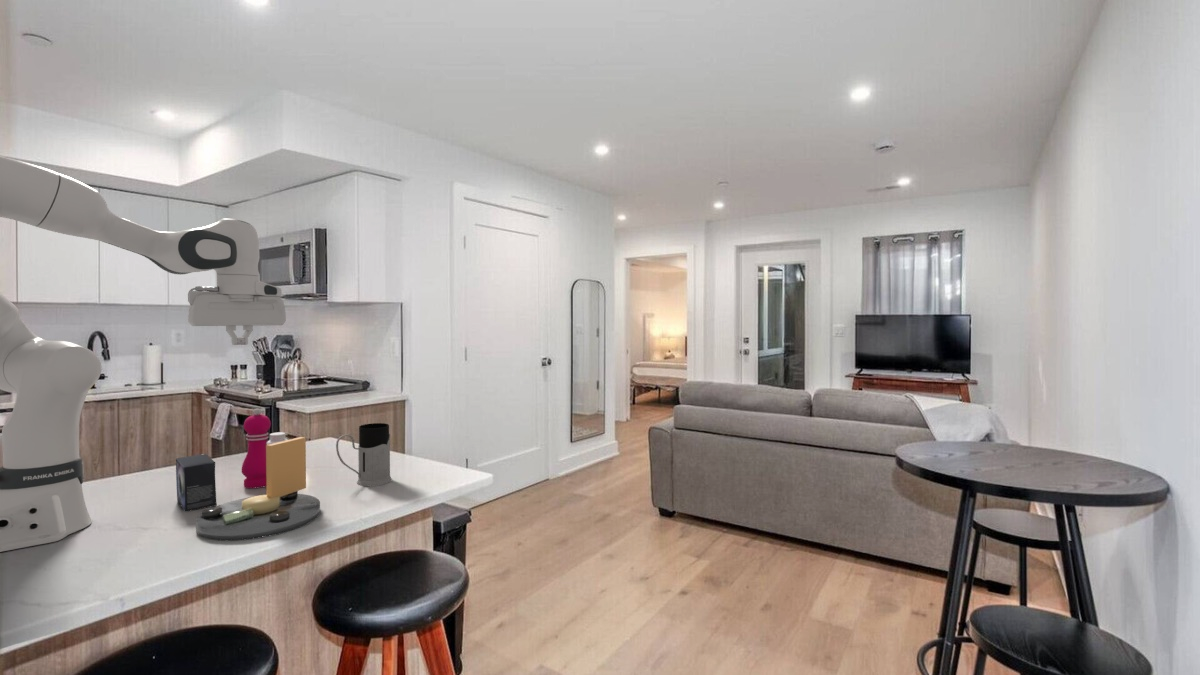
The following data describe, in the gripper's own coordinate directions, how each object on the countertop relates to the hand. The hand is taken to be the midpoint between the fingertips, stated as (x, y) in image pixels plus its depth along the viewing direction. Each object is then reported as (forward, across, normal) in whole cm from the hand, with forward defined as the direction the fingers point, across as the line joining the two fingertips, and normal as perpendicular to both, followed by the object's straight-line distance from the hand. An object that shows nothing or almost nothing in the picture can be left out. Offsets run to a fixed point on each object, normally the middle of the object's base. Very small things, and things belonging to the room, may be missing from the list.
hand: (239, 344), depth 136 cm
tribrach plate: (+37, -4, -21) cm, 43 cm away
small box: (+37, -9, +2) cm, 39 cm away
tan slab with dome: (+35, 0, -20) cm, 40 cm away
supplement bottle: (+37, +16, +18) cm, 44 cm away
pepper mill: (+37, +6, +6) cm, 38 cm away
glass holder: (+37, +24, -14) cm, 47 cm away
